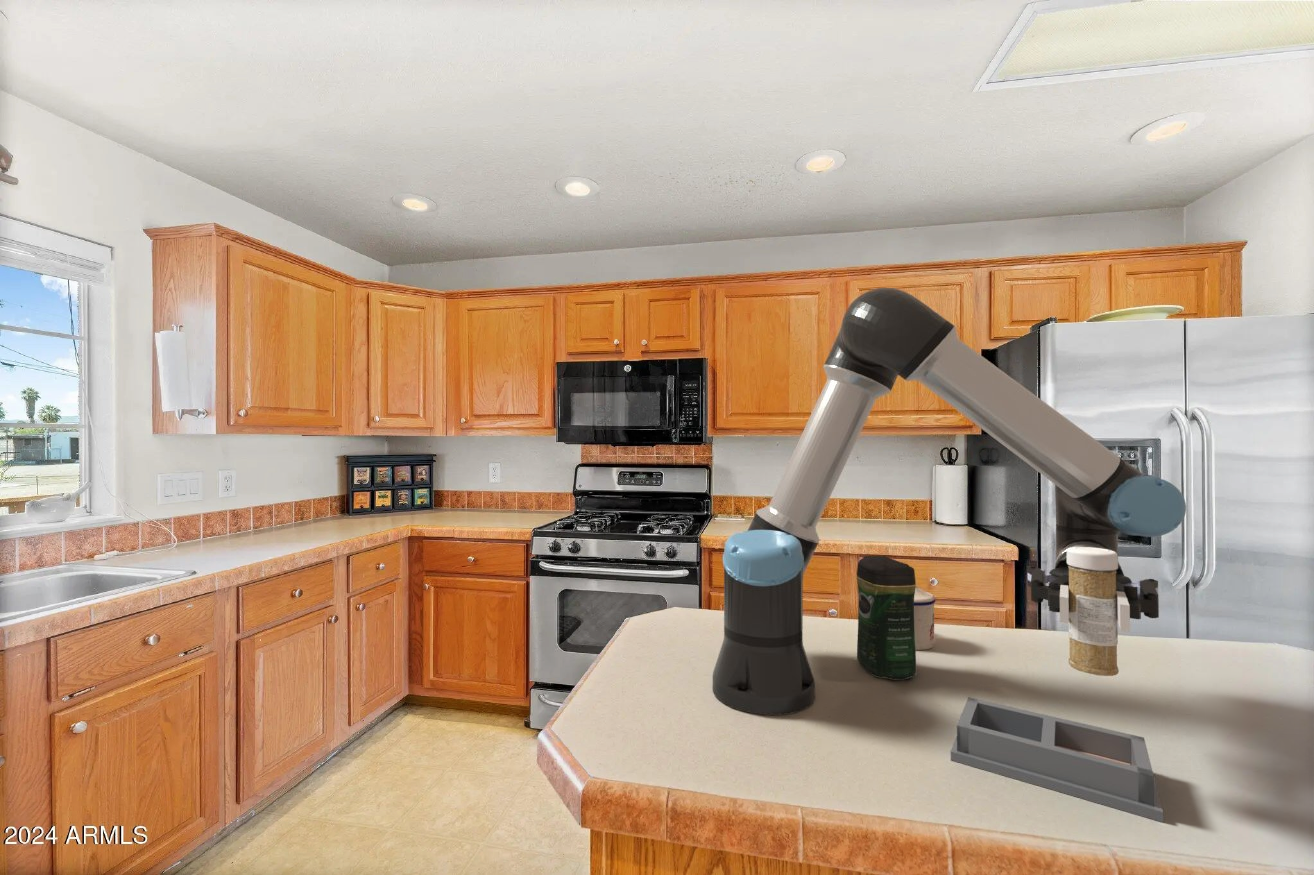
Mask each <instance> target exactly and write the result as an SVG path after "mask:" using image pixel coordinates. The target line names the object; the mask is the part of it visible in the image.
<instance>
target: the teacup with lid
mask: <svg viewBox="0 0 1314 875" xmlns="http://www.w3.org/2000/svg"><path fill="white" fill-rule="evenodd" d="M935 603H936V598H935V596H934V595H933V594H932V593H931V592H928V591H925V590H923V589H922V588H921V587H919V586H917V585H916V589H915V595H914V631H915V651H924V650H929V649H932V648H933V647H934V646H935Z"/></svg>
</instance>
